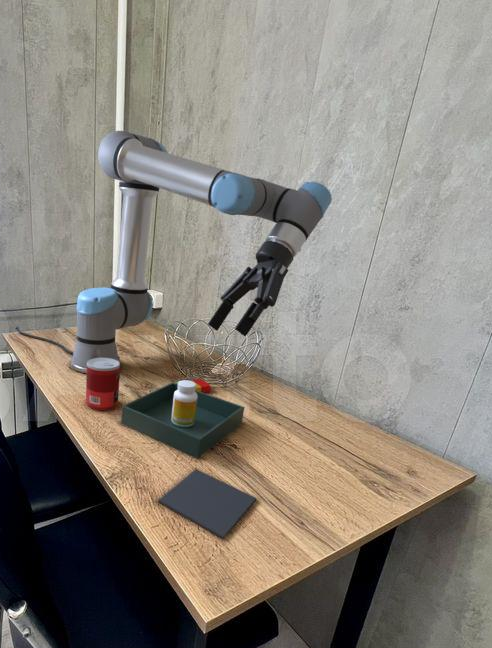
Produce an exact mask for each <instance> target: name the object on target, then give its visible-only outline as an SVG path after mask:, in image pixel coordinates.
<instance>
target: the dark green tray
mask: <svg viewBox="0 0 492 648" xmlns="http://www.w3.org/2000/svg"><path fill="white" fill-rule="evenodd" d="M176 390H178V384H177V383H175V381H172V382H170V383H168V384H165V385H164V386H162V387H160V388H158V389H155V390H154V391H151V392H149V393H146V394H145V395H143V396H140V397H138V398H137V399H134V400H131V401H129V402H128V403H126V404H124V405H122V406H121V421H120V422H121V424H122V425H124V426H126V427H127V428H130V429H132V430H135V431H136V432H139V433H140V434H143V435H146V436H148V437H150V438H152V439H154V440H156V441H158V442H161V443H162V444H165V445H168V446H169V447H171V448H173V449H176V450H178V451H180V452H182V453H184V454H186V455H189V456H190V457H193V458H195V459H199V458H201V457H202V456H203V455H204V454H206V453H207V452H208V451H209V450H211V449H212V448H213V447H214V446H216V445H217V444H218V443H219V442H221V441H222V440H223V439H225V437H227V436H228V435H230V434H231V433H232V432H234V431H235V430H236V429H237V428H238V427H239V426H241V425H242V424H243V417H244V412H245V406H242V405H241V404H240V405H239V404H236V403H234V402H230V401H229V400H225V399H222V398H221V397H217V396H213V395H211V394H208V393H206V392H203V393H202V392H199V391H197V390H195V392H196V393H197V396H198V397H197V406H196V414H195V422H194V424H193V425H192V426H190V427H180V426H177V425H175V424H173V423H172V421H171V416H172V407H173V397H174V392H175V391H176Z"/></svg>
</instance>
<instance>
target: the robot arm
mask: <svg viewBox="0 0 492 648" xmlns="http://www.w3.org/2000/svg"><path fill="white" fill-rule="evenodd" d="M167 150H168V149H166V147H165V146H164V145H163V144H162V143H161V142H159V141H157V140H155V139H154V138H152V137H146V136H143V135H139V134H136V133H132V132H129V131H126V130H115V131H111V132H110V133H108V134H106V135H105V136H104V137H103V139H102V140H101V141H100V144H99V147H98V151H97V159H98V164H99V166H100V168H101V170H102V171H103V173H104V174H105V175H106V176H108V177H109V178H111V179H113V180H116V181H118V189H119V190H120V191H119V192H121V193H122V195H123V197H122V209H121V221H120V233H119V234H120V236H119V246H118V256H117V257H118V258H117V270H116V278H115V279H114V280H112V282H111V283H110V287H92V288H91V287H90V288H88V289H84V290H82V291H81V292H80V293H79V294H78V296H77V302H76V308H75V309H76V343H75V346H74V349H73V351H72V350H68V349H67V348H66V347H65V346H64V345H63V344H61V343H58V342H57V341H54V340H52V339H49V338H46V337H42V336H38V335H33V334H30V333H26V332H23V331H21V330H20V327H19V326H16V327H15V330H17V332H18V333H19V334H21V335H23V336H26V337H30V338H34V339H37V340H42V341H45V342H49V343H52V344H54V345H57V346H58V347H60V348H61V349H62V350H63V351H65V352H66V353H68V354H71V357H70V367H71V368H72V369H73V370H74V371H77V372H78V373H81V374H82V373H83V374H87V361H89V360H90V359H94V358H110V359H114V360H117V361H118V362H119V363H120V364H121V359H120V356H119V353H118V349H117V345H116V331H117V330H120V329H125V328H130V327H136V326H138V325H140V324H143V323H145V322H146V321H147V320H148V319H149V318H150V316H151V315H152V313H153V308H154V307H153V306H154V304H153V303H154V301H153V298H152V296H151V294H150V292H149V291H148V290H149V286H148V285H147V283H146V282H145V274H146V273H145V272H146V265H147V264H146V263H147V255H148V245H149V237H150V227H151V220H152V209H153V201H154V198H155V197H156V196H157V195H158V194H159V193H160V189H161V190H164V191H166V192H170V193H172V194H175V195H178V196H181V197H184V198H186V199H190V200H192V201H195V202H198V203H201V204H204V205H207V206H210V207H213V208H215V209H216V210H217V211H218V212H220V213H222V214H226V215H230V216H246V217H257V218H261V219H264V220H268V221H270V222H274V223H275V224H274V226H273V227H272V229H271V230H270V232H269V233H268V235H267V236H266V237H265V241H264V242H263V243H262V244H261V245H260V247H259V249H258V250H257V251H256V253H255V260H256V263H257V264H256V265H255V266H253V268H252V267H250V266H247V267H246V268H245V270H244V271H243V272H242V273H241V275H240V276H239V277H238V278H237V279H236V280H235V282H233V283H232V285H230V286H229V288H228V289H226V291H225V292H224V293H223V294H222V295H221V296H220V298H219V299H220V300H221V301H222V302H221V303H220V305H219V306H218V307H217V309H216V311H215V312H214V314H213V315H212V317H211V319H209V321H208V322H207V325H208V326H209V327H211V328H212V329H213V330H215V331H219V330H220V328H221V326H222V324H223V323H224V322H225V321H226V319H227V317H228V316H229V315H230V313H231V311H232V310H233V309H234V305H235V304H236V303H237V302H239V301H240V300H241V299H242V298H243V297H245V296H246V295H247V294H248V293H249V292H250V291H254V290H256V289H257V290H256V297H254V298H253V299H252V300H253V301H252V302H251V303H250V305H249V306H248V308H247V310H246V311H245V312H244V314H243V316H242V317H241V318H240V320H239V321H238V323H237V324H236V325H235V327H234V330H235V331H237V332H238V333H240V334H241V335H242V336H243V337H247V336H248V334H249V332H250V331H251V329H252V328H253V326H254V325H255V324H256V322H257V321H258V319H259V317H260V316H261V315H262V313H263V312H264V310H268V308H269V307H272V308H273V307H274V306H276V303H277V300H278V298H279V294H280V292H281V289H282V285H283V282H284V279H285V278H286V276H287V274H288V272H289V267H290V266H291V264H292V263H293V261H294V258H295V257H296V256H297V255H298V253H300V252H301V251H302V248H303V246H304V244H305V243H306V242H307V240H308V239H309V237H310V236H311V234H312V233H313V232H314V231H315V228H316V227H317V226H318V224H319V223H320V221H321V220H322V219H323V218H324V215H325V214H326V212H327V210H328V208H329V207H330V205H331V203H332V199H333V198H332V193H331V191H330V190H329V188H328V187H326V186H325V185H324V184H322V183H320V182H318V181H307V182H304V183H303V184H302V185H301V186H300V187H298V189H294V188H289V187H285V186H282V185H280V184H277V183H273V182H270V181H268V180H265V179H262V178H257V177H250V176H246V175H244V174H241V173H239V172H234V171H229V170H225V169H223V168H218V167H215V166H212V165H209V164H206V163H202V162H200V161H196V160H193V159H189V158H185V157H182V156H179V155H175V154H172V153H169V152H168V151H167Z"/></svg>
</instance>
